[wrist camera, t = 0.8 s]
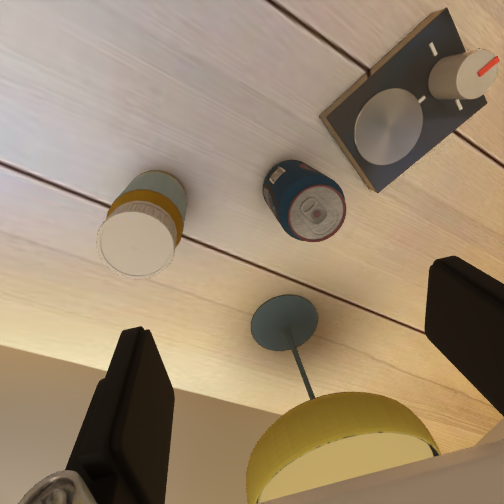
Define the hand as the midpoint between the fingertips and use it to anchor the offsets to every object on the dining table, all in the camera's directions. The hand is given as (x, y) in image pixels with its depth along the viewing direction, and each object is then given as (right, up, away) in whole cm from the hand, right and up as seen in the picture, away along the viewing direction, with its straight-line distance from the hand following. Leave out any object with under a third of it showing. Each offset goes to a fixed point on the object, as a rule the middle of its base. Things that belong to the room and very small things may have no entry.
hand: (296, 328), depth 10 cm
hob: (+16, +20, +29) cm, 39 cm away
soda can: (+3, +11, +31) cm, 33 cm away
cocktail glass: (+4, -9, +40) cm, 41 cm away
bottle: (-13, +9, +29) cm, 33 cm away
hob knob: (+20, +22, +25) cm, 40 cm away
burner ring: (+15, +17, +27) cm, 35 cm away
